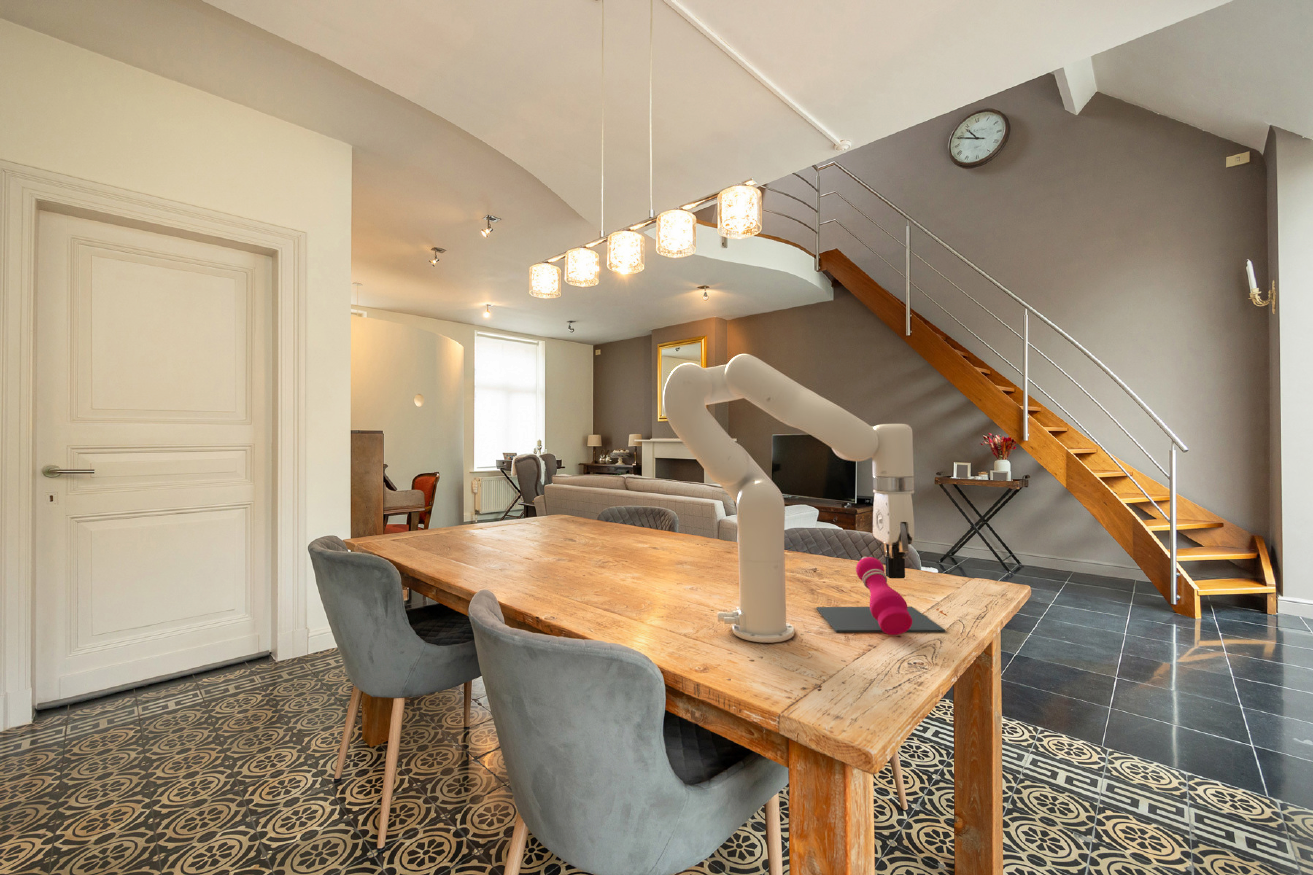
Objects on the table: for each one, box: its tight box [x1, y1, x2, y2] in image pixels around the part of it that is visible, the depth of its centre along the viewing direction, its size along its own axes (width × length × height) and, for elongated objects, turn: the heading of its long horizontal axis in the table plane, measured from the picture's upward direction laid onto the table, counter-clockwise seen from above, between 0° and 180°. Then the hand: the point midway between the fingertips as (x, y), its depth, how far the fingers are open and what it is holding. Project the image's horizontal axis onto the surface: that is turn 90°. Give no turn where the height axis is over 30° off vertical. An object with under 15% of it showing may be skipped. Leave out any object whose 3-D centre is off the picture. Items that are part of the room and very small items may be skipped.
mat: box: [816, 606, 946, 633], centre depth 118 cm, size 22×16×1 cm
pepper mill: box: [855, 556, 912, 636], centre depth 116 cm, size 7×7×20 cm
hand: (895, 577), depth 107 cm, fingers closed
